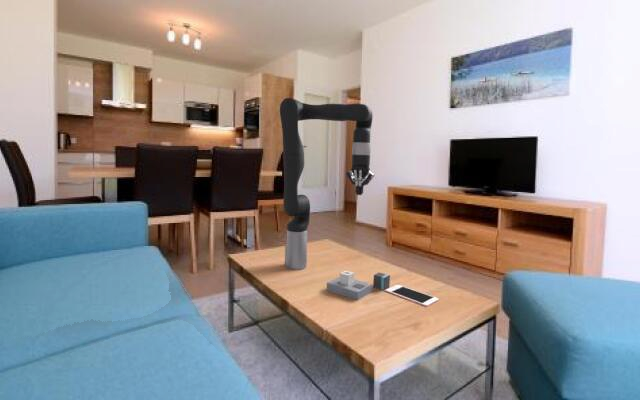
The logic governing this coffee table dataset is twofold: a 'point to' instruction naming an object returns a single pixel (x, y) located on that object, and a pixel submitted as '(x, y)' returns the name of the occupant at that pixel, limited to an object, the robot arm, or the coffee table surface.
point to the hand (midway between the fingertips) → (359, 194)
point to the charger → (346, 278)
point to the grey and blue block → (381, 281)
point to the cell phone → (412, 295)
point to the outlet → (350, 288)
